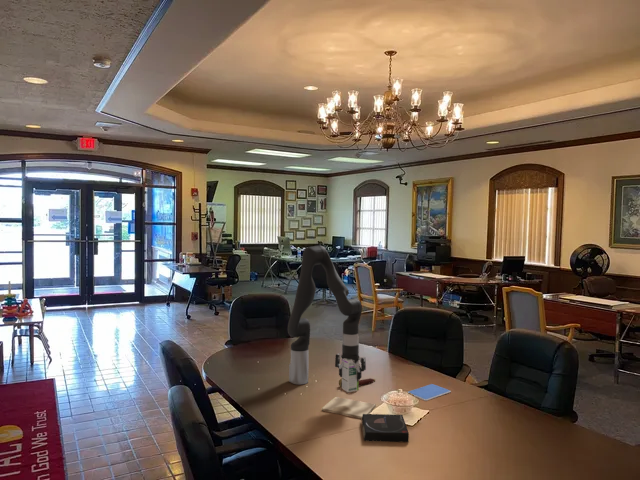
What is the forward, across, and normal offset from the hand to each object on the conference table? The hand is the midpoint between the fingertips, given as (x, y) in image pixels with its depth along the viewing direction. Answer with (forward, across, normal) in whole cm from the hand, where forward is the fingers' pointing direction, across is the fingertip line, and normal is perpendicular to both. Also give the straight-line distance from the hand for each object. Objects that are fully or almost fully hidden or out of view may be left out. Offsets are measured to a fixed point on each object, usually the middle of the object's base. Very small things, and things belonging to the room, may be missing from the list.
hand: (350, 378), depth 209 cm
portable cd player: (+13, +22, -18) cm, 31 cm away
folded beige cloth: (+13, +1, -3) cm, 13 cm away
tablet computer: (+13, +29, +32) cm, 45 cm away
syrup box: (+6, 0, 0) cm, 6 cm away
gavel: (+13, -5, +26) cm, 29 cm away
